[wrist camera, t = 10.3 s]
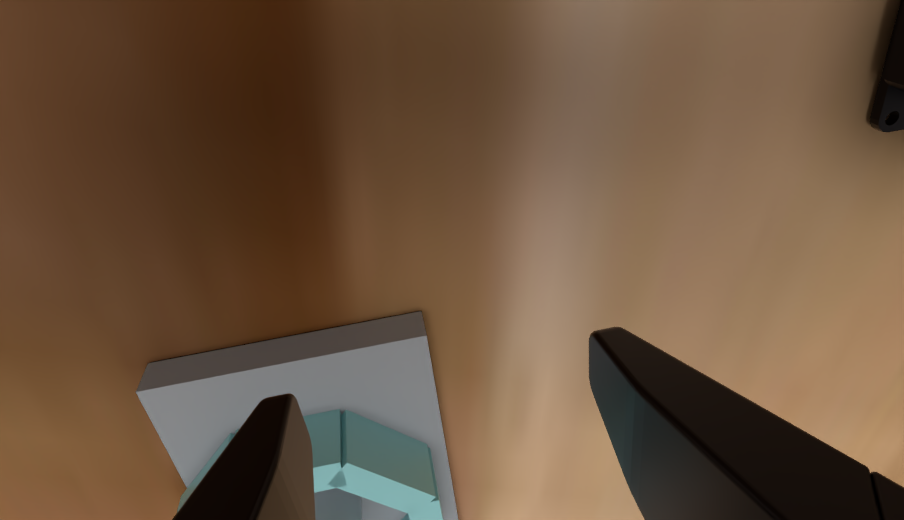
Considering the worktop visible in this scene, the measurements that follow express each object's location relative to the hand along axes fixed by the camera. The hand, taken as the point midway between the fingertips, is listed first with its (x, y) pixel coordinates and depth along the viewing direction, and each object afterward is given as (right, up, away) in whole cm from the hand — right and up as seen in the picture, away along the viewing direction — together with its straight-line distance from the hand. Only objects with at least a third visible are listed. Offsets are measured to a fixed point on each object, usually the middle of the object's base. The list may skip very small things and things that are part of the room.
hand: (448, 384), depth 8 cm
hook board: (-5, -7, +17) cm, 20 cm away
